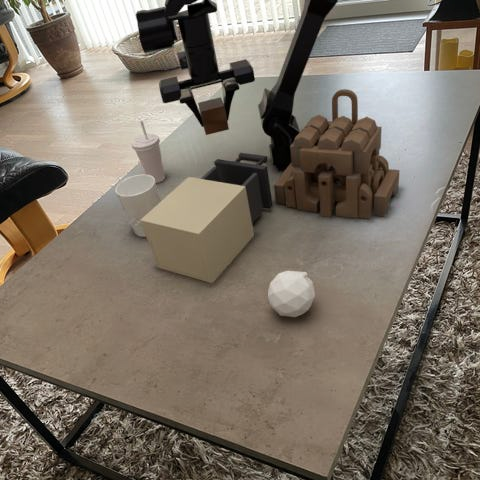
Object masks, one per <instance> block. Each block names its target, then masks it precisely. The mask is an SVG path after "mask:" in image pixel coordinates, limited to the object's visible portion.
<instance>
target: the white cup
mask: <svg viewBox="0 0 480 480" xmlns="http://www.w3.org/2000/svg"><path fill="white" fill-rule="evenodd" d="M158 189H159V188H158V185H157V183H156V182H155V179H154V177H153V176H151V175H147V174H146V173H145V174H144V173H143V174H135V175H132V176H129V177H126V178H125V179H123V180H121V181H119V183H118V184H117V185H116V187H115V190H114V191H115V194H116V196H117V198H118V200H119V203H120V205H121V208H122V210H123V211H124V213H125V215H126V219H127V220H128V221H129V223H130V225H131V227H132V230H133V232H134V234H135V235H137V236H138V237H142V238H147V237H146V235H145V232H144V229H143V227H142V224H141V221H140V220H141V219H142V218H143V217H144V216H145V215H146V214H148V213H149V212H150V211H151V210H152V209H153V208H154V207H155V206H157V205H158V204H159V203H160V202H161V201H162V200H161V197H160V193H159V190H158Z"/></svg>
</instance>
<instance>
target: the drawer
mask: <svg viewBox="0 0 480 480" xmlns="http://www.w3.org/2000/svg"><path fill="white" fill-rule="evenodd" d="M268 159H269V157H268V155H262V154H255V153H247V152H239V153H238V156H237V158H236V159H235V160H234V161H233V160H227V159H221V158H217V159H215V160H214V162H213V163H214V166H212V168H211V169H209V170H208V171H207V172H206V173H205V174H204V175H203V176H202V177H200V179H204V180H210V181H216V182H222V183H228V184H234V185H240V186H245V187H246V193H247V198H248V204H249V210H250V215H251V221H252V224H253V223H254V222H255V221H256V220H257V219H259V217H260V216H261V214H262V213H264V209H266V210H271V209H272V208H273V207H274V206H273V205H274V204H273V198H272V191H271V184H270V183H271V182H270V176H269V169H268V166H267V165H263V164H267V163H268ZM242 161H244V162H242ZM247 162H248V163H247ZM249 162H251V163H249Z"/></svg>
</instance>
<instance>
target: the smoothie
mask: <svg viewBox="0 0 480 480" xmlns="http://www.w3.org/2000/svg"><path fill="white" fill-rule="evenodd" d="M139 123H140V126H141V129H142V132H143V134H142V135H139V136H137V137H135V138H134V139H133V140H132V141H131V148H132V150H133V151H134V152H135V154H136V156H137V158H138V159H139V161H140V163H141V166H142V168H143V170H144V172H145V174H146V175H151V176H153V177H154V179H155V182H156V184H159V183H161V182H164V180H165V178H166V175H165V170H164V163H163V157H162V151H161V146H160V143H161V140H160V137H159V135H158V134H156V133H147V131H146V128H145V124H144V121H143V120H139Z"/></svg>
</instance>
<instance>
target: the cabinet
mask: <svg viewBox="0 0 480 480" xmlns="http://www.w3.org/2000/svg"><path fill="white" fill-rule="evenodd" d="M140 221H141V224H142V227H143V229H144V232H145V235H146V237H145V238H146V240H147V243H148V245H149V248H150V250H151V253H152V256H153V259H154V261H155V263H156V267H157V268H159V269H161V270H165V271H168V272H171V273H175V274H178V275H182V276H185V277H189V278H193V279H195V280H199V281H203V282H205V283H210V284H214V282H216V280H217V279H218V278H219V277H220V276H221V274H222V273H223V272H224V271H225V270H226V269H227V267H228V266H229V265H230V264H231V263H232V262H233V260H234V259H236V257H237V256H238V255H239V254H240V253H241V252H242V250H243V249H244V248H245V247H246V246H247V245H248V243H249V242H250V241H251V240H253V238H254V237H255V232H254V226H253V223H252V221H251V215H250V210H249V204H248V198H247V193H246V187H245V186H240V185H234V184H228V183H222V182H216V181H210V180H204V179H201V178H197V177H192V176H188V177H186V179H184V180H183V181H182V182H180V184H179V185H178V186H176V188H174V189H173V190H172V191H171V192H170V193H169V194H167V196H165V197H164V198H163V199H162V200H161V202H160V203H159V204H158V205H157V206H155V207H154V208H153V209H152V210H151V211H150V212H149V213H148V214H146V215H145V216H144V217H143V218H142V219H141V220H140Z"/></svg>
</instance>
